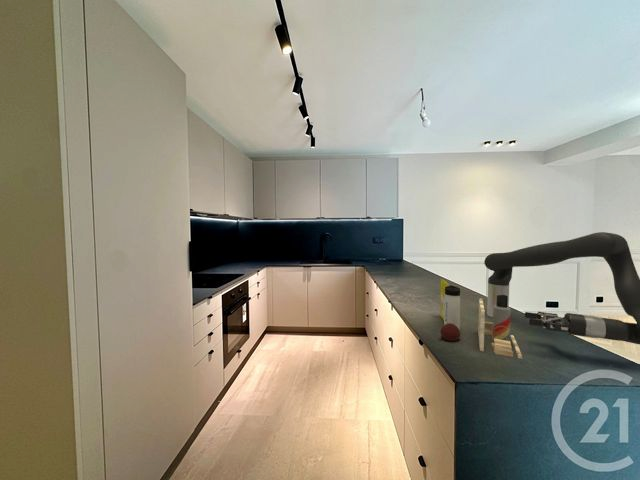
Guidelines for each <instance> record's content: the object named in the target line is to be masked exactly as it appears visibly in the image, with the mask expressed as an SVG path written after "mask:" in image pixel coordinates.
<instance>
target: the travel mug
mask: <svg viewBox="0 0 640 480" xmlns="http://www.w3.org/2000/svg"><path fill="white" fill-rule="evenodd" d="M460 314H461V288H460V287H458V286H454V285H450V284H449V286H447V287H445V305H444V320H443V326H444V325H445V324H448V323H452V324H454V325H456V326H457V327H458V329H459V330H460V327H461V325H460V323H461V322H460V321H461V317H460V316H461V315H460Z"/></svg>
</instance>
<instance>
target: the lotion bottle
mask: <svg viewBox="0 0 640 480" xmlns="http://www.w3.org/2000/svg"><path fill="white" fill-rule="evenodd" d="M511 313H512V312H511V307H508V296H507V295H497V296H496V305H494V306H493V318H492V323H493V334H492V337H491V340H492V343H494V339H499V340H505V341H510V340H511ZM510 342H511V341H510Z"/></svg>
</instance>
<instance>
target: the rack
mask: <svg viewBox="0 0 640 480" xmlns="http://www.w3.org/2000/svg"><path fill="white" fill-rule="evenodd" d="M485 315H486V311H485V307H484V299H483V298H482V297H481V298H478V320H477V321H478V325H477V326H478V329H477V334H478V344H479V351H480V352H485V350H484V349H485V348H484V347H485V336H492V334H493V322H489V321H485V320H486V319H485V318H486V317H485ZM510 340H511V342H512V343H511V344H512V345H513V348H514V351H515V353H516V356H517V359H521V360H522V359H523V354H522V352H521V350H520V347H519V345H518V342H517V340H516V338H515V336H514V335H512V334H510Z"/></svg>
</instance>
